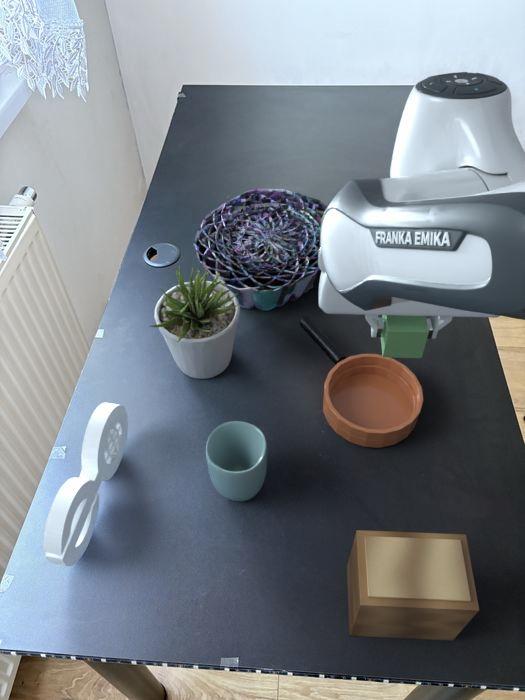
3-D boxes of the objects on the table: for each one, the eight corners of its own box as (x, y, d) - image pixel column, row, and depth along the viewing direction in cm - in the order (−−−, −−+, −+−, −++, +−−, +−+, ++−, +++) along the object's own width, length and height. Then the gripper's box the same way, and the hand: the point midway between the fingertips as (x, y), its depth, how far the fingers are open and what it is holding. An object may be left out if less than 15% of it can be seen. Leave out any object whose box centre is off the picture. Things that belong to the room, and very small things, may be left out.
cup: (219, 454, 86) (214, 415, 78) (272, 463, 85) (272, 425, 77) (204, 503, 81) (198, 467, 73) (261, 514, 80) (260, 479, 72)
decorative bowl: (367, 272, 112) (376, 228, 105) (270, 349, 98) (273, 304, 90) (265, 216, 123) (268, 173, 116) (165, 277, 109) (160, 232, 102)
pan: (437, 420, 89) (443, 403, 85) (361, 466, 84) (365, 450, 81) (376, 358, 97) (380, 340, 93) (304, 397, 92) (305, 379, 88)
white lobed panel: (118, 428, 89) (103, 388, 81) (132, 430, 88) (119, 390, 81) (59, 574, 75) (34, 543, 67) (75, 577, 75) (52, 547, 67)
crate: (442, 571, 75) (466, 532, 65) (452, 640, 69) (480, 609, 60) (346, 567, 75) (356, 528, 66) (349, 635, 70) (361, 603, 61)
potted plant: (143, 369, 96) (119, 278, 80) (200, 318, 103) (187, 226, 87) (203, 408, 91) (189, 319, 75) (258, 352, 98) (255, 260, 82)
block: (417, 329, 72) (424, 303, 69) (421, 358, 69) (429, 332, 66) (379, 328, 72) (384, 302, 69) (382, 357, 69) (387, 331, 66)
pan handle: (345, 362, 93) (347, 354, 91) (335, 368, 92) (336, 360, 91) (308, 322, 98) (309, 314, 97) (298, 327, 98) (299, 319, 96)
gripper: (319, 259, 57) (313, 352, 68) (536, 263, 56) (496, 357, 67) (318, 218, 61) (313, 312, 72) (521, 221, 60) (485, 316, 71)
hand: (402, 334), depth 69 cm, fingers closed on block, 4 cm apart
